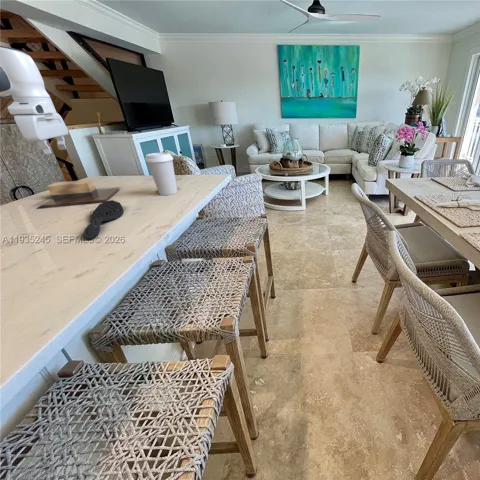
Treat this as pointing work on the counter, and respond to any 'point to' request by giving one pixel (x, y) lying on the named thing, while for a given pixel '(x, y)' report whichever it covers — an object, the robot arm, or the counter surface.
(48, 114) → the robot arm
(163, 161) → the coffee cup
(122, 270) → the counter surface
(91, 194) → the scrub brush
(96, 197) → the walnut board
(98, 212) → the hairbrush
